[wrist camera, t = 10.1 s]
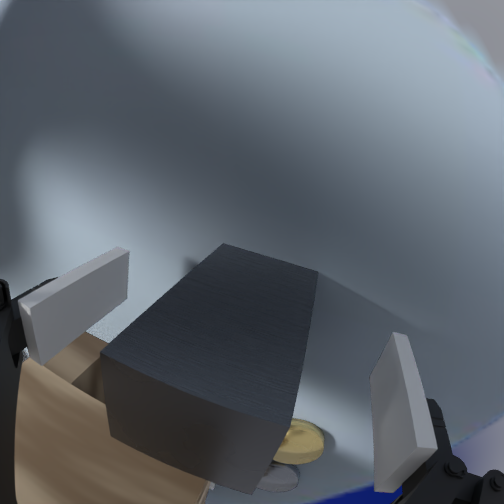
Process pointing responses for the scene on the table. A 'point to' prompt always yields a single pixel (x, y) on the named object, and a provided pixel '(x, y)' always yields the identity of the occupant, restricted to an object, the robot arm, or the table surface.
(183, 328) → the grey mallet
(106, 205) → the table surface
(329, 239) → the table surface
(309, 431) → the brass disc
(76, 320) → the robot arm
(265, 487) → the steel disc
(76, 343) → the cabinet
